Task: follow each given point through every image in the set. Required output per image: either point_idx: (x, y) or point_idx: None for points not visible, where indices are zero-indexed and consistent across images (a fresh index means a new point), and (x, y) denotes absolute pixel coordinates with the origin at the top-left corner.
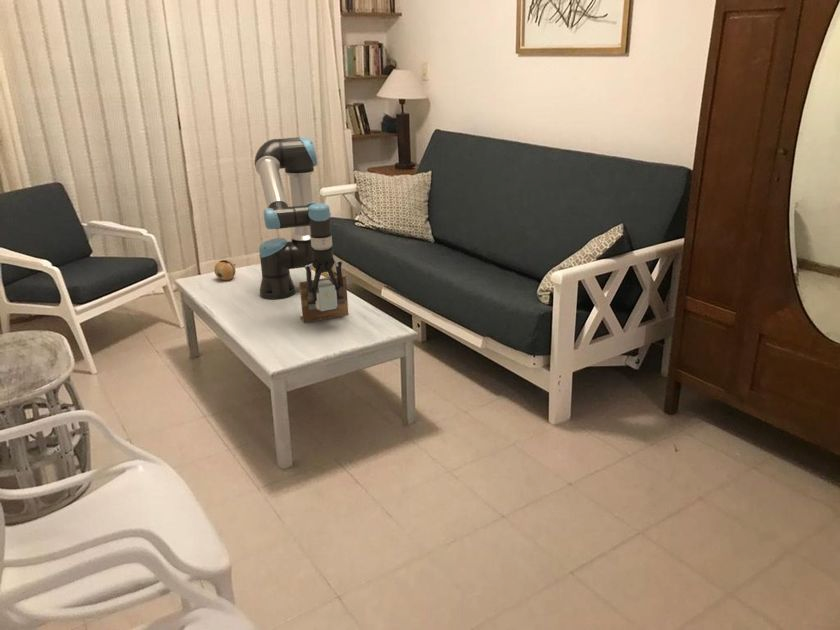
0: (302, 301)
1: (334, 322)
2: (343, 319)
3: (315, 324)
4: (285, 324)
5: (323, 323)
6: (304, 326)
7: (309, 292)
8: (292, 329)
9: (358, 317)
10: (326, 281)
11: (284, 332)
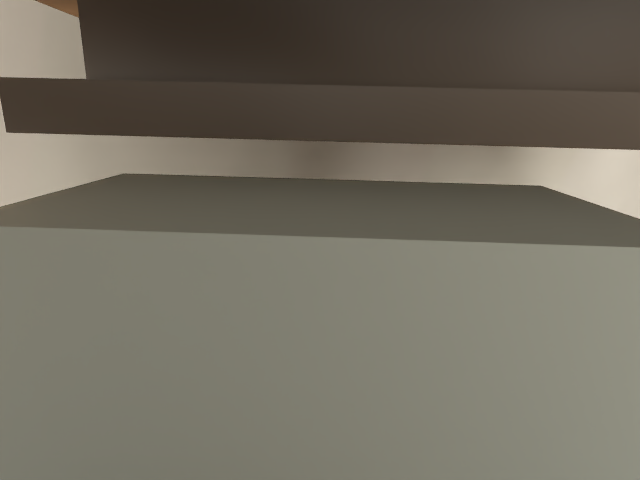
0: (56, 4)
1: (407, 179)
2: (498, 153)
3: (257, 143)
4: (21, 10)
5: (321, 155)
6: (166, 140)
7: (57, 132)
8: (66, 153)
9: (625, 174)
10: (514, 433)
11: (2, 181)
